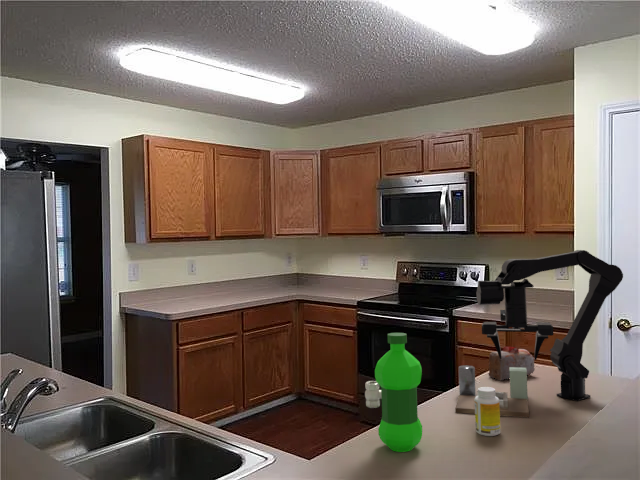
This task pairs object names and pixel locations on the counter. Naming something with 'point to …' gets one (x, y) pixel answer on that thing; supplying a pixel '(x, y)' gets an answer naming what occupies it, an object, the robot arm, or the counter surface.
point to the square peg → (518, 383)
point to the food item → (509, 362)
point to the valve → (372, 394)
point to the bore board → (507, 405)
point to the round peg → (467, 380)
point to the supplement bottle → (487, 412)
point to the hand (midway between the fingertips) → (517, 359)
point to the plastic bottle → (399, 395)
